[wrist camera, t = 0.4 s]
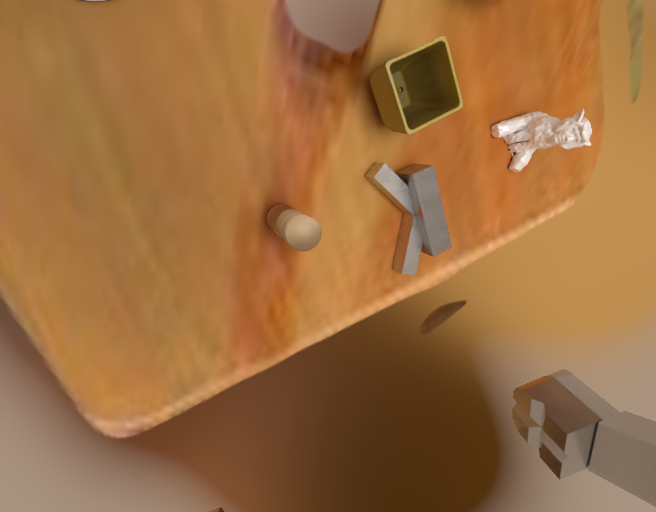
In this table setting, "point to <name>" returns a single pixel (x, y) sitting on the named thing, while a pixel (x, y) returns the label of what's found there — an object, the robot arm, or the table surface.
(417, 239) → the crossed grey wooden bars
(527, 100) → the table surface
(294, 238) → the dowel
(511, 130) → the sitting furry creature
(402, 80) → the flower pot
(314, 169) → the table surface
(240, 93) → the table surface
